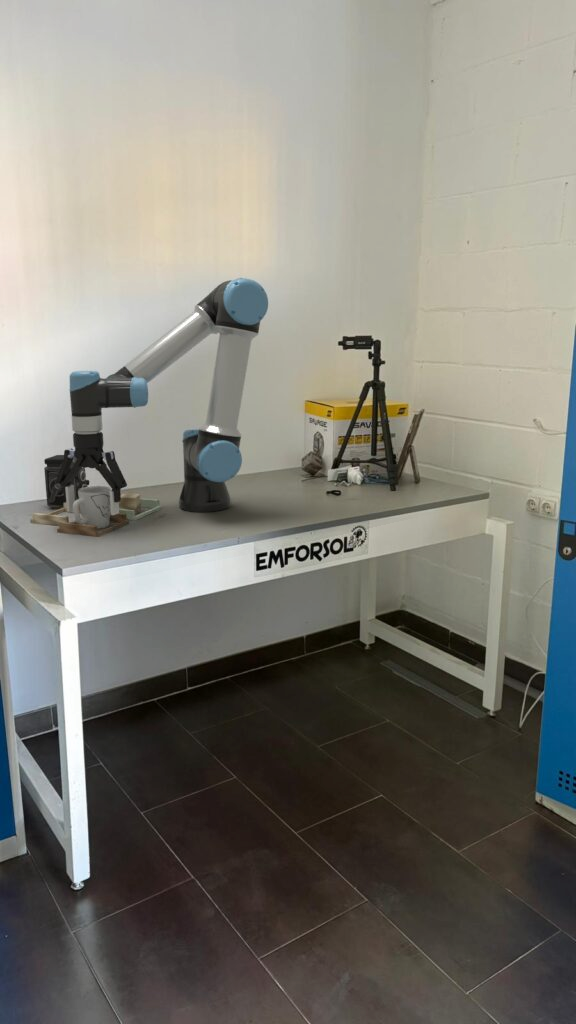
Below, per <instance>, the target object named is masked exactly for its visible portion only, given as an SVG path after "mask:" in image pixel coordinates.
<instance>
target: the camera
mask: <svg viewBox="0 0 576 1024" xmlns="http://www.w3.org/2000/svg"><path fill="white" fill-rule="evenodd" d="M63 460H64V454H55V455H53V456H51V457H47V458H45V459H44V464H45V465H46V466H45V467H44V480H45V481H44V482H45V483H44V484H45V493H46V495H45V497H46V504H47V506H48V507H50V508H51V509H54V508H58V509H62V508H64V504H63V503H65V502H66V498H64V492H63V486H62V485H61V484H57V483H56V479H57V476H58V473H59V471H60V468H61V465H62V462H63ZM76 461H77V459H76V457H75V456H74V457H73V461H72V463H71V466H70V469H69V472H70V471H71V469H72V468H73V465H74V463H75V462H76ZM69 472H68V474H69ZM68 474H67V475H68ZM71 485H74V494H75V501H76V500H78V499H79V496H78V490H79V489H81V488H84V487H89V486H90V479H87V475H86V468H83V467H82V469H81V470H80V472H79V473H78V474H77V476H76V477H75V479H74V480H73V482H72V483H71Z"/></svg>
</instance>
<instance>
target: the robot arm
mask: <svg viewBox="0 0 576 1024" xmlns="http://www.w3.org/2000/svg"><path fill="white" fill-rule="evenodd" d="M268 309H269V297H268V295H267V292H266V291H265V288H264V287H263V286H262V284H260V283H259V282H257V281H255V280H254V279H251V278H247V277H246V278H244V277H238V278H235V279H231V280H230V279H229V280H226V281H224V282H223V281H222V282H221V283H220V284H218V285H217V286H215V288H214V289H212V291H211V292H209V294H208V295H206V296H205V297H204V298H203V299H202V300H201V301H199V302H198V303H197V304H196V305H195V306H194V311H193V312H192V313H190V314H189V315H188V316H186V317H185V318H183V319H182V320H181V321H180V322H179V323H177V324H176V325H174V326H173V327H172V328H171V329H169V330H168V331H167V332H166V333H164V334H163V335H162V336H160V337H159V338H158V339H157V340H155V341H154V342H153V343H152V344H150V345H149V346H148V347H147V348H145V349H144V350H143V351H141V352H140V353H139V354H138V355H136V357H133V358H132V359H131V360H130V361H129V362H128V363H126V364H125V365H124V366H122V368H120V369H119V370H117V371H116V372H115V373H112V374H109V375H108V376H106V378H102V377H101V375H100V373H99V371H97V370H76V371H72V372H71V373H70V374H69V397H70V399H69V401H70V408H71V409H70V410H71V411H70V412H71V428H72V429H71V430H72V432H73V434H72V440H73V447H74V449H73V448H67V449H64V452H63V455H64V460H63V462H62V465H61V468H60V471H59V473H58V476H57V479H56V483H57V484H61V485H62V486H63V492H64V498H66V503H67V511H71V510H73V503H74V502H75V494H74V485H71V483H72V482H73V480H74V479H75V477H76V476H77V474H78V473H79V472H80V470H81V469H82V468H85V469H87V468H88V469H95V470H96V471H98V473H99V474H100V475H101V476H102V478H103V479H104V480H105V481H106V483H107V485H108V487H109V488H110V489H111V490H110V507H111V515H116V514H118V513H119V502H120V501H121V495H122V494H121V489H123V488H126V487H127V486H128V483H127V481H126V479H125V477H124V475H123V473H122V471H121V468H120V466H119V463H118V462H117V460H116V454H115V451H113V450H112V451H106V452H105V451H104V449H103V448H104V433H103V431H102V430H103V413H102V409H109V408H110V409H111V408H112V409H113V408H115V409H116V408H117V409H118V408H134V409H135V408H140V407H145V406H147V405H148V403H149V402H148V401H149V388H148V387H149V386H148V384H149V383H151V381H152V380H153V379H155V378H156V377H157V376H159V375H160V374H161V373H163V372H164V371H165V370H166V369H168V368H169V367H170V366H171V365H172V364H175V363H176V361H178V360H179V359H180V358H182V357H183V356H184V355H186V354H187V353H188V352H190V351H191V350H192V349H193V348H195V347H196V346H197V345H198V344H200V343H201V342H203V341H204V340H205V339H206V338H207V337H209V336H211V334H213V335H217V334H219V337H218V343H217V350H216V356H215V362H214V368H213V376H212V380H211V389H210V393H209V401H208V408H207V414H206V417H205V418H206V420H205V423H204V424H203V425H201V426H200V427H199V428H198V429H197V428H195V429H186V430H184V432H183V433H182V440H181V441H182V448H183V449H182V450H183V451H182V452H183V475H184V476H183V477H184V479H183V480H184V481H183V485H182V487H181V492H180V495H179V499H178V502H179V503H178V505H179V509H181V510H184V511H188V512H194V513H195V512H198V513H199V512H201V513H202V512H203V513H205V512H217V511H218V512H219V511H222V510H225V509H226V510H227V509H229V508H230V507H231V506H232V505H231V504H232V503H231V495H230V493H229V491H228V487H227V484H226V482H227V481H230V480H232V479H233V478H234V477H235V476H237V474H238V473H239V471H240V470H241V469H242V468H241V467H242V463H243V462H242V461H243V456H242V452H241V451H240V445H241V438H242V434H241V433H240V431H239V430H238V423H239V417H240V413H241V412H240V410H241V405H242V399H243V394H244V387H245V381H246V377H247V376H246V374H247V370H248V362H249V357H250V351H251V345H252V340H254V338H256V337H257V336H258V335H259V330H260V326H261V321H262V320H263V319H264V318H265V316H266V315H267V312H268ZM74 456H75V457H76V459H77V461H76V462H75V463H74V465H73V468H72V469H71V471H70V472H69V469H70V466H71V463H72V461H73V457H74ZM68 472H69V474H68ZM67 474H68V475H67Z"/></svg>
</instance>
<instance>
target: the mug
mask: <svg viewBox="0 0 576 1024" xmlns="http://www.w3.org/2000/svg"><path fill="white" fill-rule="evenodd" d="M110 490H112V488H111V487H110V486H105V485H104V486H103V485H100V486H99V485H94V486H93V485H92V486H88V487H84V488H81V489H79V490H78V496H79V499H78V500H76V501H75V502H74V503H73V512H72V513H73V516H74V520H76V522H77V523H78V524H82V525H92V526H97V530H98V529H99V530H100V529H105V528H108V526H110V522H109V520H110V510H111V507H110ZM79 504H80V509H81V513H79ZM80 514H81V515H80ZM82 517H83V519H82V520H81V518H82Z"/></svg>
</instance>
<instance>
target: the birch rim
mask: <svg viewBox="0 0 576 1024" xmlns="http://www.w3.org/2000/svg"><path fill="white" fill-rule="evenodd" d="M63 504H64V508H58V509H56V510H54V511H50V512H48V513H37V512H33V513H32V518H31V519H30V523H31V524H41V525H43V524H44V525H50V526H51V525H52V526H59V523H61V522H62V523H74V522H76V520H75V519H74V520H72V521H70V520H69V516H67V515H58V514H60V513H61V514H62V513H64V512H67V513H74V512H73V510H71V511H67V503H66V502H65V503H63ZM79 514H82V513H81V509H80V504H79ZM80 518H81V519H83V517H82V516H81V517H80ZM69 521H70V522H69Z"/></svg>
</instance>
